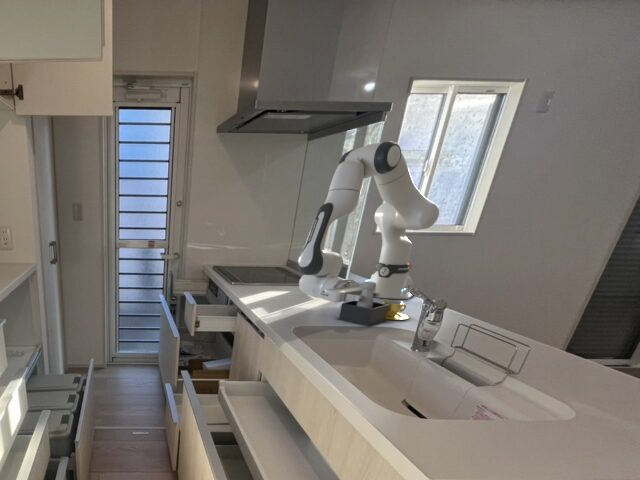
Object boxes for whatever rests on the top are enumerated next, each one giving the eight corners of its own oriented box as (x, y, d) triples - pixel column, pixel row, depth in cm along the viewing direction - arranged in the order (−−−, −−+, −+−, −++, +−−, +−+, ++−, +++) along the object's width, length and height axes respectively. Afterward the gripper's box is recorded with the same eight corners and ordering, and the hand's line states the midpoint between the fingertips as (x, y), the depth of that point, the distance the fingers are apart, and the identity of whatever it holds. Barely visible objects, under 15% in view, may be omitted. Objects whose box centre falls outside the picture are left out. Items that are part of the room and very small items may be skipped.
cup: (382, 321, 147) (386, 306, 145) (365, 312, 158) (368, 298, 156) (415, 320, 147) (420, 305, 145) (396, 312, 158) (399, 298, 155)
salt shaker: (355, 314, 152) (362, 279, 147) (372, 317, 149) (380, 281, 144) (351, 318, 148) (358, 281, 143) (368, 320, 145) (377, 283, 139)
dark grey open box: (356, 314, 156) (359, 299, 153) (385, 320, 148) (389, 304, 145) (338, 319, 150) (341, 303, 148) (368, 325, 142) (371, 309, 140)
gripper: (318, 284, 151) (350, 291, 139) (356, 279, 159) (390, 285, 147) (315, 301, 154) (346, 309, 142) (353, 295, 161) (386, 302, 150)
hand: (369, 297), depth 145 cm, fingers open, 8 cm apart
